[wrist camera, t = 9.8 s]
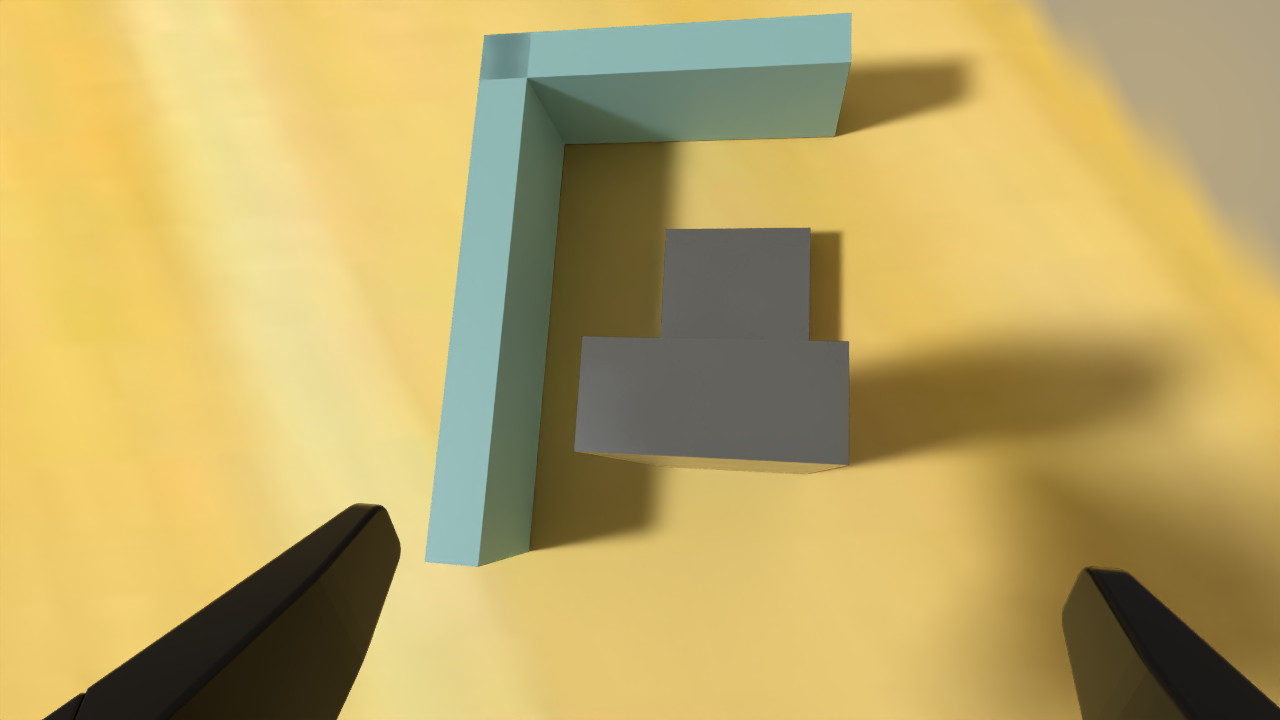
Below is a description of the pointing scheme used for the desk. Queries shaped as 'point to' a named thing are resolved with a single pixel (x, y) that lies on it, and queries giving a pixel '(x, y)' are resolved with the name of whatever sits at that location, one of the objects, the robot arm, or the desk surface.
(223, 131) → the desk surface
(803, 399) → the grey l-shaped block
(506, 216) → the teal corner wall
